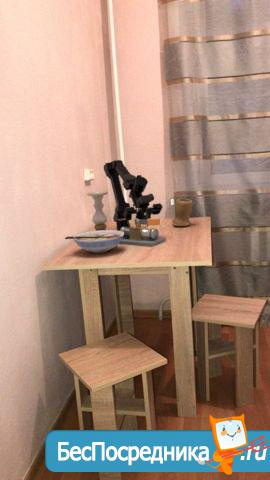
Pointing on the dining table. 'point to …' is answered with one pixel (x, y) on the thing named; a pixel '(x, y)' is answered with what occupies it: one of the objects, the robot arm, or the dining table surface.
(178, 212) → the stone cup
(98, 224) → the candle holder
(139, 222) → the valve lever
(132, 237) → the valve assembly
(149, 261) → the dining table surface
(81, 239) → the ramen bowl
